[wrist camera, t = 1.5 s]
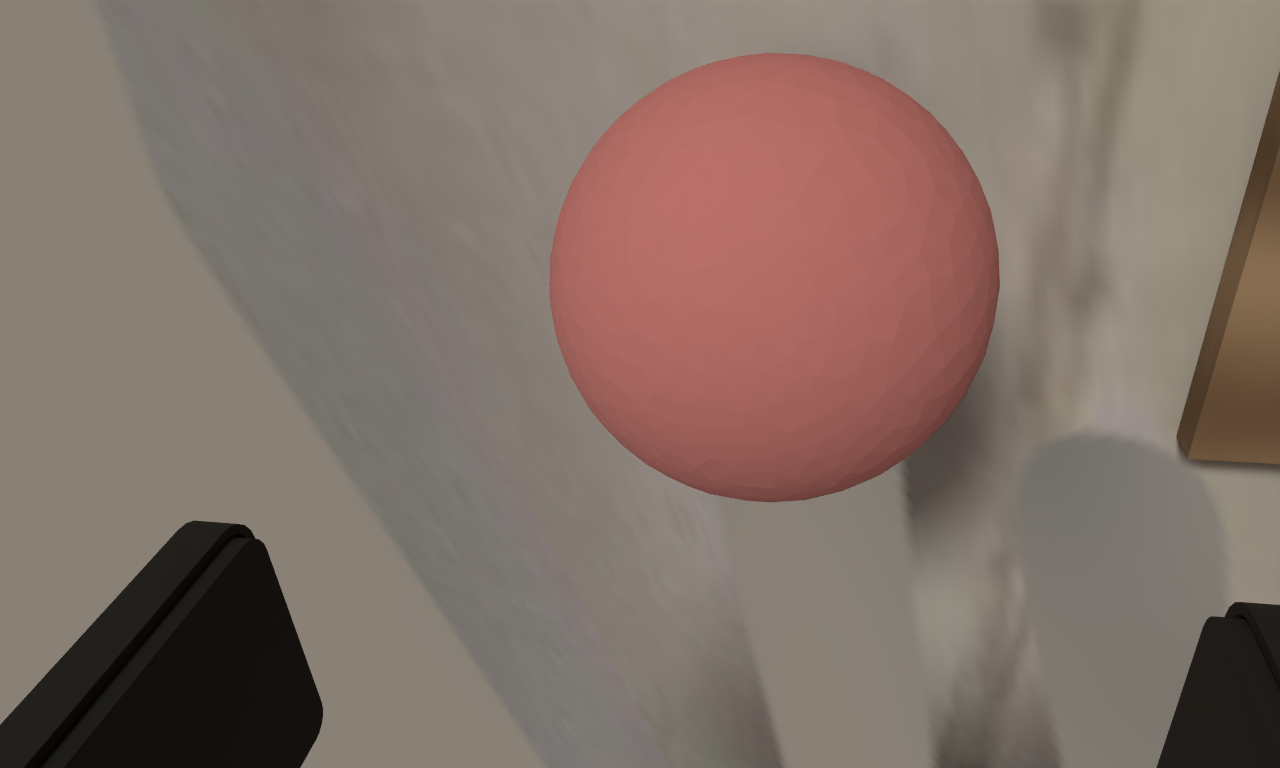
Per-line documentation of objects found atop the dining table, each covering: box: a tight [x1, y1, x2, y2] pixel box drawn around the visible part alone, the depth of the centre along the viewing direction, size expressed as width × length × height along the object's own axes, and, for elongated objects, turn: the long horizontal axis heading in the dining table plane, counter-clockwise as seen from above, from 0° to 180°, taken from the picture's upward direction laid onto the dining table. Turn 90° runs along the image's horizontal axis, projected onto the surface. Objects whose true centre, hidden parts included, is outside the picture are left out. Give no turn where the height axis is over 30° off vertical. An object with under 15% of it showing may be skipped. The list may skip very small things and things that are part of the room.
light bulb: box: [550, 53, 1000, 502], centre depth 18 cm, size 7×7×12 cm
